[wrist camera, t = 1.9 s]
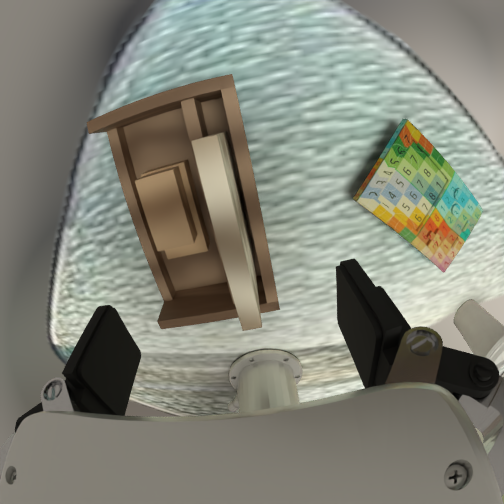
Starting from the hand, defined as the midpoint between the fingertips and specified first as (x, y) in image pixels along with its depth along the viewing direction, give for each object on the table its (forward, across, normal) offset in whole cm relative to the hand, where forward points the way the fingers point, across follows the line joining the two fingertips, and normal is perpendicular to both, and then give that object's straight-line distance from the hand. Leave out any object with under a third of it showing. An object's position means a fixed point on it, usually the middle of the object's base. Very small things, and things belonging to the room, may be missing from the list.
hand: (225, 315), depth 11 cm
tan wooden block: (+21, +6, +1) cm, 22 cm away
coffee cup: (+22, -41, +32) cm, 56 cm away
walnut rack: (+22, +5, +1) cm, 23 cm away
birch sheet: (+21, 0, +1) cm, 21 cm away
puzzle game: (+23, -24, +6) cm, 34 cm away
